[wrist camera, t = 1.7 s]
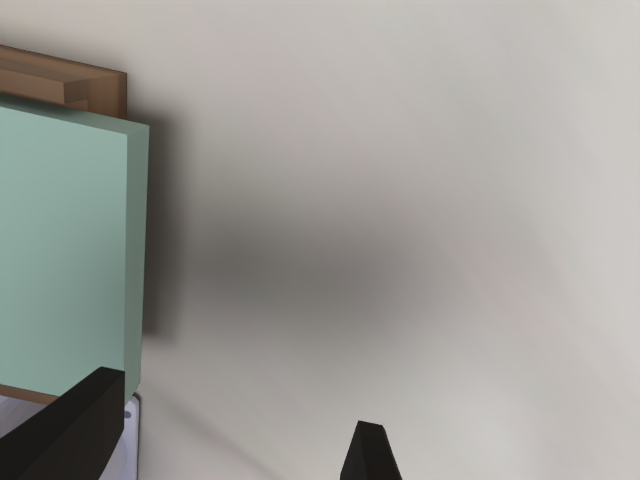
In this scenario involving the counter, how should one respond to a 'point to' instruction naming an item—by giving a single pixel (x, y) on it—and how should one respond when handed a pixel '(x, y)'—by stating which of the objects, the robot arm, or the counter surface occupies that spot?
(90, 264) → the cover plate
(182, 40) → the counter surface
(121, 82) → the walnut box
